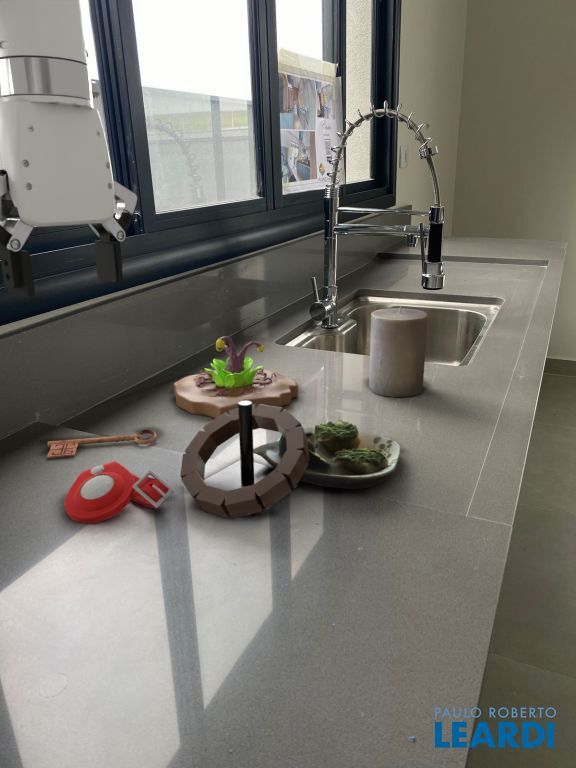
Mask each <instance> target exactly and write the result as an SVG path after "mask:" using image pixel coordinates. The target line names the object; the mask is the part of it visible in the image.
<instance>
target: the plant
mask: <svg viewBox="0 0 576 768" xmlns="http://www.w3.org/2000/svg"><path fill="white" fill-rule="evenodd" d="M226 341H227V342H228V345H229V346H227V345H226ZM253 345H255V347H256V349H257V351H258V352H259V353H263V352H264V351H265V346H264V345H263V344H262V343H261V342H259V341H258V342H257V341H254V340H253V341H249V342H248V343H246V344H244V346H242V348H241V350H240V351H239V353H238V354H237V350H236V345H235V344H234V341H233V340H232V339H231V337H230V336H221V337H219V338H218V339H217V340H216V342H215V350H216V351H217V352H223V350H224V351H225V352H226V354H227V358H226V361H223V360H222V359H218V358H213V359H212V362H213V363H210V366H211V367H212V368H213V369H214V370H212V369H211V368H204V370H199V371H198V373H196V374H191V375H187V376H185V377H183V378H181V379H179V380H177V381H175V382H174V383H173V395H174V397H175V402H176V405H177V406H178V407H179V408H180V409H183V410H185V411H187V412H188V413H190V414H191V415H201V416H206V417H207V416H208V417H210V418H213V419H214V420H215V419H216V418H218V417H219V416H221V415H222V414H224V413H225V412H226V413H227V414H228V415H229V411H230V410H233V409H238V403H239V402H240V401H250V402H252V405H254V404H256V406H257V407H258V405H259V404H263V405H269V406H275V407H281V408H282V407H284V406H289V405H291V404H292V399H293V398H297V397H298V396H299V386H298V382H297V381H296V380H295V379H293V378H290V377H288V376H285V375H282V374H280V373H279V372H276V371H273V370H270V369H264V368H263V367H264V365H258V366H256V367H254V368H253V367H252V366H253V364H254V359H252V358H251V357H250V356H247V357H246V353H247V351H248V349H249V348H250V347H251V346H253Z"/></svg>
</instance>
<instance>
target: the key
mask: <svg viewBox="0 0 576 768" xmlns="http://www.w3.org/2000/svg"><path fill="white" fill-rule="evenodd" d="M146 434H149V435H153V436H152V437H150V438H148V439H143V435H146ZM156 439H157V433H156V432H155V431H154V430H152V429H142V430H140V431H138V432H137V433H136V434H130V435H129V434H126V435H115V436H114V435H113V436H103V437H102V436H101V437H90V438H77V439H64V440H52V441H47V448H50V449H49V450H48V453H47V455H46V458H47V459H52V458H64V457H75V456H76V453H77V449H78V447H79V445H90V444H91V445H92V444H103V443H119V442H126V441H127V442H130V441H135V442H136V443H137V444H141V445H147V444H151V443H153V442H154V441H155V440H156Z"/></svg>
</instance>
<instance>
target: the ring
mask: <svg viewBox="0 0 576 768" xmlns="http://www.w3.org/2000/svg"><path fill="white" fill-rule="evenodd" d="M252 421H253V431H254V430H259V429H262V430H267V431H272V432H277V433H279V434H280V435H281V436H282V435H283V436H284V437H285V438H286V440H287V451H286V452H285V454H284V456H283V457H282V459H281V461H280V462H279V464H278V466H277V467H276V469H275V470H274V471H273V472H271V473H270V474H268V475H267V476H266V477H264V478H263V479H261V480H260V481H258V482H257V483H255V484H254V485H251V486H246V487H242V488H238V489H233V490H229V491H227V490H223V489H219V488H215V487H212V486H208V485H206V483H205V482H204V480H205V474H206V473H205V472H206V464H207V463H208V461H209V460H210V459H211V457H212V455H213V454H214V453H215V451H216V450H217V448H218V447H219V446H222V444H224V443H225V442H227V441H229V440H230V439H232V438H233V437H235V436H236V435H237V434H238V435H239V414H238V409H233V410H230V411H229V415H228V414H227V413H226V412H225V413H224V414H222V415H221V416H219V417H218V418H216V419H215V418H214V419H213V420H211V421H210V422H209V423H206V424H205V425H204V426H202V429H203V430H201V429H200V430H198V431H197V433H196V435H194V437H193V438H192V440H191V441H190V443H189V444H188V446H187V447H186V448H185V450H184V453H183V454H182V459H181V466H180V475H179V476H180V480H181V482H182V484H183V485H184V487H185V489H186V490H187V491H188V493H189V494H190V497H192V499H193V501H194V502H195V503H196V504H197V505H196V506H198V508H199V509H200V510H202V511H203V512H206V513H207V514H212V515H216V516H219V517H222V518H226V519H229V517H230V518H232V519H234V518H240V517H244V516H248V515H249V514H254V513H258V512H259V513H262V512H263V510H262V505H263V506H264V507H265V509H264V510H269V509H270V508H271V507H272V506H273V505H275V504H277V503H278V502H280V501H281V500H282V499H284V498H285V497H287V496H288V495H289V494H291V493H293V490H291V488H290V487H292V488H294V489H296V488H297V487H298V486H297V484H298V482H299V483H300V482H301V481H300V479H301V477H302V475H303V473H304V472H305V470H306V468H307V466H308V462H307V461H309V451H308V440H307V437H306V434H305V432H304V429H303V428H304V427H303V425H302V422H300V421H299V420H298V419H297V418H296V417H295V416H293V414H291V413H290V412H289V411H288V410H287V409H284V408H283V407H282V406H281V407H275V406H269V405H263V404H259V405H258V407H257V406H256V404H254V405H252ZM296 486H297V487H296ZM259 513H258V514H259ZM249 516H250V515H249Z"/></svg>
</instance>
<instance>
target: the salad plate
mask: <svg viewBox="0 0 576 768" xmlns="http://www.w3.org/2000/svg"><path fill="white" fill-rule="evenodd" d="M357 427H358V426H357V425H355V424H353V423H352V422H350V423H349V422H348V421H343V419H338V420H337V422H332V421H331V420H329V421H327V423H320V424H315V425H314V426H306V427H303V429H304V432H305V434H306V437H307V440H308V451H309V461H307V462H308V466H307V468H306V470H305V472H304V473H303V475H302V477H301V479H300V481H299V482H303V483H306V484H312V485H317V486H322V487H327V488H336V489H347V490H348V489H349V490H350V489H353V490H354V489H355V490H356V489H357V490H358V489H369V488H372V487H376V486H378V485H379V484H381V483H383V482H384V481H386V480H387V479H389V478H390V477H391V476H393V475H394V474H395V472H396V471H397V464H398V461H399V458H400V455H401V446H400V444H399V443H398V442H397V441H395V440H393V439H391V438H389V437H386V436H383V435H379V434H372V433H371V434H370V433H360V432H359V430H358V428H357ZM286 451H287V440H286V438H285V437H284V436H283V435H282V434H281V436H280V437H279V438H278V439H277V440H276V441H273V442H268V443H264V444H262V445H260V446H257V447H254V448H253V453H254V455H258V456H260V457H261V458H262V459H264V460H265V462H267V463H268V464H269V465H270V467H272V468H273V469H274V470H275V469H276V467H277V466H278V464H279V462H280V461H281V459H282V457H283V456H284V454H285V452H286Z"/></svg>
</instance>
